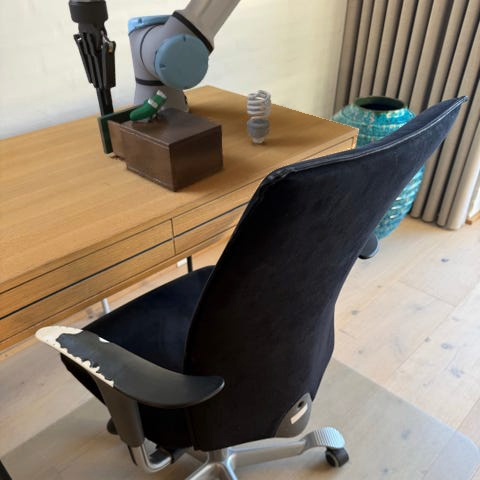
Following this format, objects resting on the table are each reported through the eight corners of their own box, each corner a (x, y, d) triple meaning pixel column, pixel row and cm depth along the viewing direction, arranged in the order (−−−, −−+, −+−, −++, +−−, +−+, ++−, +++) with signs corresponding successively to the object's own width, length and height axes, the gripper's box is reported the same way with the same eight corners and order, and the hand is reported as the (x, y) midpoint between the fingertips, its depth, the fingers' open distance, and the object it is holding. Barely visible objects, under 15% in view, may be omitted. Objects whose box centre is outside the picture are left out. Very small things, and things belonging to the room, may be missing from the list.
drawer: (91, 147, 111) (84, 112, 106) (136, 131, 118) (131, 98, 113) (143, 171, 101) (138, 134, 96) (189, 153, 108) (186, 117, 103)
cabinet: (126, 169, 104) (118, 124, 98) (176, 150, 112) (171, 106, 105) (173, 192, 96) (168, 144, 90) (223, 169, 104) (221, 124, 97)
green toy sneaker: (140, 131, 99) (157, 112, 96) (126, 117, 98) (143, 97, 94) (155, 116, 106) (172, 98, 102) (142, 103, 104) (159, 83, 101)
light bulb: (259, 137, 117) (260, 85, 109) (274, 144, 114) (276, 91, 106) (241, 143, 115) (241, 90, 107) (256, 150, 111) (257, 96, 103)
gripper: (53, -3, 98) (79, 115, 113) (88, 4, 91) (110, 129, 106) (85, -7, 102) (105, 108, 117) (120, -1, 95) (137, 120, 110)
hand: (108, 118), depth 112 cm, fingers closed
